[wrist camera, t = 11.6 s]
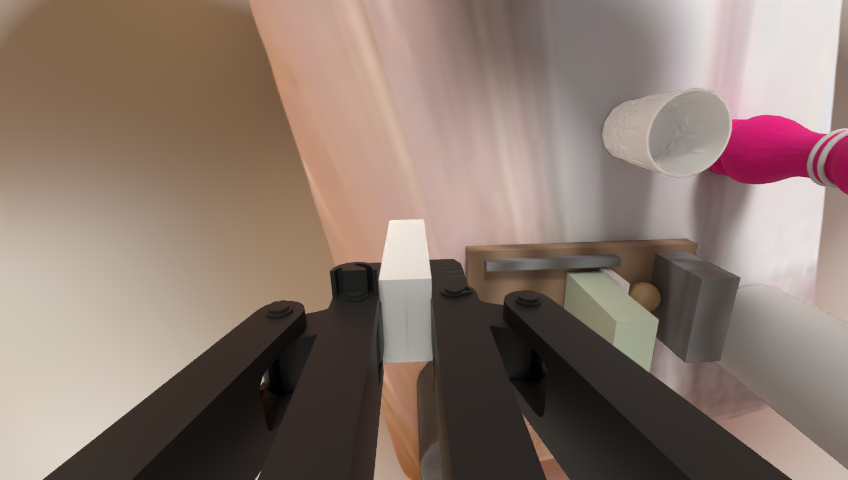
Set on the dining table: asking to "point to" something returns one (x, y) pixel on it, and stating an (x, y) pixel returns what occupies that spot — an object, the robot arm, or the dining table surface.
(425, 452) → the pillar candle
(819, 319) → the cylinder vase
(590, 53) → the dining table surface
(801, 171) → the pink bowling pin
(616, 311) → the block
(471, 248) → the press bench
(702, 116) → the white cup
